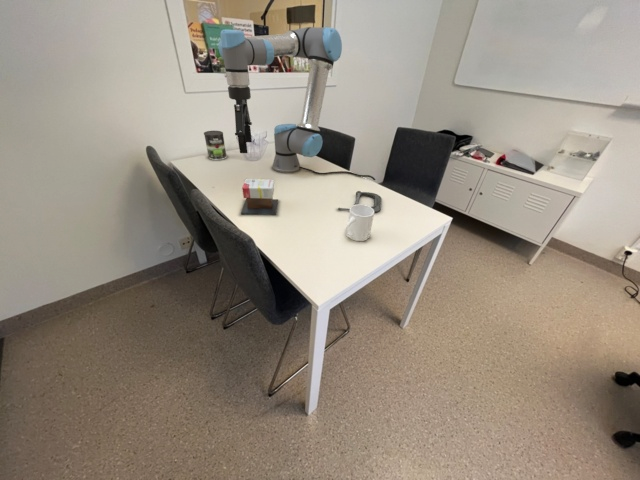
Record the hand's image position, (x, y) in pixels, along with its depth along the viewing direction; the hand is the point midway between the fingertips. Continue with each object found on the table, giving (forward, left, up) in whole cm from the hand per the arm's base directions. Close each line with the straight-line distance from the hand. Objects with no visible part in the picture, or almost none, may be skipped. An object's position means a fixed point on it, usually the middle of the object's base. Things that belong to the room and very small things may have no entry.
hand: (246, 147), depth 105 cm
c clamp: (-49, +9, -23) cm, 55 cm away
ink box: (+2, +7, -14) cm, 16 cm away
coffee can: (+23, -53, -23) cm, 62 cm away
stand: (-4, +10, -22) cm, 25 cm away
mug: (-39, +34, -23) cm, 56 cm away
